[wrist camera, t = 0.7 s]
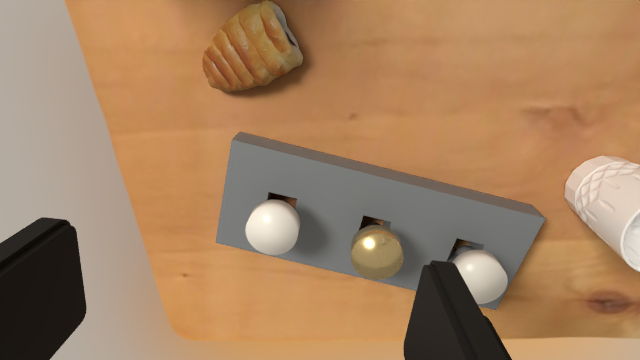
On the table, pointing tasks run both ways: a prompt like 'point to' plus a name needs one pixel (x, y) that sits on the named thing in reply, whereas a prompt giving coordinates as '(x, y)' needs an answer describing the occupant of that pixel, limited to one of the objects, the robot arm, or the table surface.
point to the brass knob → (376, 252)
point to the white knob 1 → (273, 227)
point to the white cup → (609, 203)
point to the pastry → (251, 49)
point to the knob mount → (369, 210)
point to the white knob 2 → (481, 273)
